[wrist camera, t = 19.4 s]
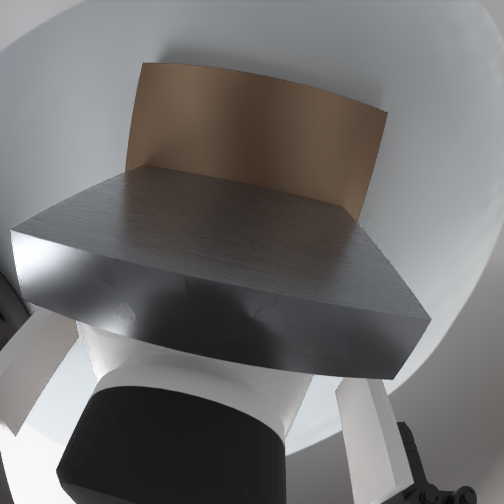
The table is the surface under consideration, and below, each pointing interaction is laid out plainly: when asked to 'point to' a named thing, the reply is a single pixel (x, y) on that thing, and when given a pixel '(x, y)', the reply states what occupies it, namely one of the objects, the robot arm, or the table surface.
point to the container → (179, 428)
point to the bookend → (222, 274)
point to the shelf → (255, 132)
